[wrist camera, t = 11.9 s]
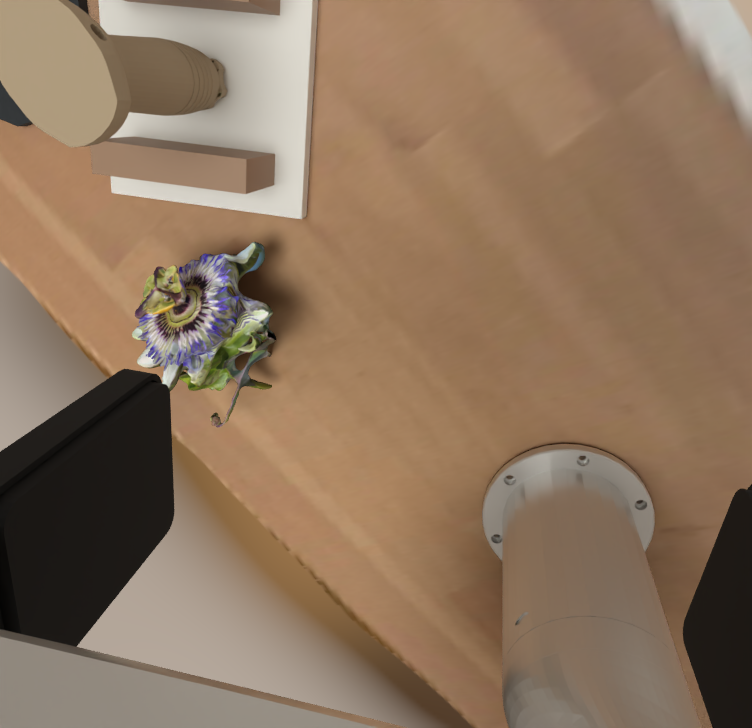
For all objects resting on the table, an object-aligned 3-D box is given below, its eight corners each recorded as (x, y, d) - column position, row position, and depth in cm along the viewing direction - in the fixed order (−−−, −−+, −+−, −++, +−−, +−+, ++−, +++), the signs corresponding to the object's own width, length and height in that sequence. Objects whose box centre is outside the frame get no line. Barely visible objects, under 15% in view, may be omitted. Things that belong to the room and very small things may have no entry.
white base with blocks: (306, 216, 43) (276, 232, 37) (121, 190, 45) (66, 202, 39) (321, -56, 37) (288, -86, 31) (104, -72, 38) (36, -103, 33)
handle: (211, 147, 41) (67, 168, 28) (149, 61, 40) (-36, 38, 26) (264, 101, 39) (138, 99, 26) (200, 9, 38) (32, -44, 24)
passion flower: (242, 254, 51) (236, 198, 39) (318, 362, 51) (336, 338, 39) (120, 330, 48) (76, 295, 36) (201, 443, 48) (183, 444, 37)
